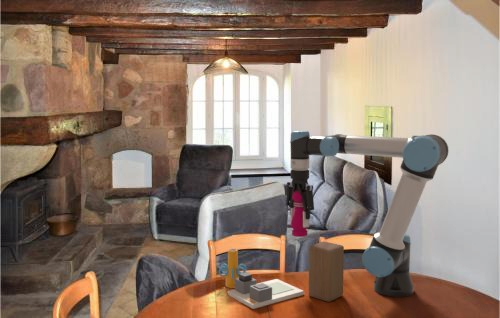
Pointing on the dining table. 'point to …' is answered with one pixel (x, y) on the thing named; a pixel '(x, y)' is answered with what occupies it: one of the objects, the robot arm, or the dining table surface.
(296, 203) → the pepper mill
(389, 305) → the dining table surface
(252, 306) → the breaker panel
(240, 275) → the block
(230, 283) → the yellow post with loops
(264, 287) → the block
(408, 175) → the robot arm
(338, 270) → the wooden block
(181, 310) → the dining table surface
